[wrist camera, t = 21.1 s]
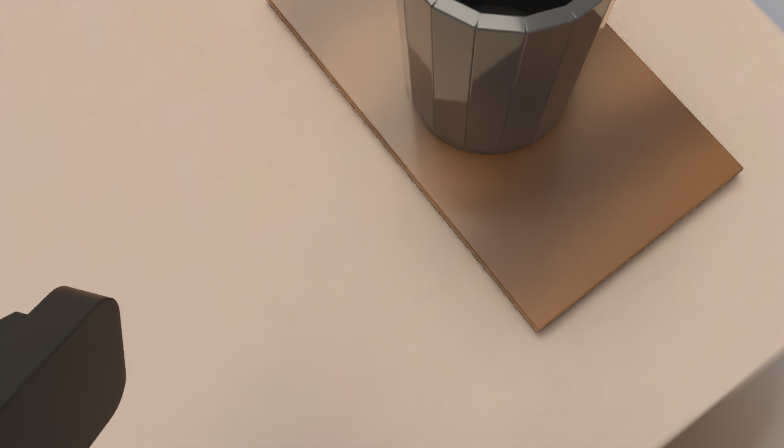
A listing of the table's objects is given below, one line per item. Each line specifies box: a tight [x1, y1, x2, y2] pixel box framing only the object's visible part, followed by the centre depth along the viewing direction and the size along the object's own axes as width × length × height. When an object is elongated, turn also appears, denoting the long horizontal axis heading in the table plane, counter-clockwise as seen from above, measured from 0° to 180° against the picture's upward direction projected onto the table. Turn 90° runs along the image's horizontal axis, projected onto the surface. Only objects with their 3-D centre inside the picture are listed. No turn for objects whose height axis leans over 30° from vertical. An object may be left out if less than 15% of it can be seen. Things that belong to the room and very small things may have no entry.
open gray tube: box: [396, 0, 616, 154], centre depth 22 cm, size 6×6×9 cm
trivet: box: [267, 0, 743, 332], centre depth 27 cm, size 16×9×1 cm, turn 37°
